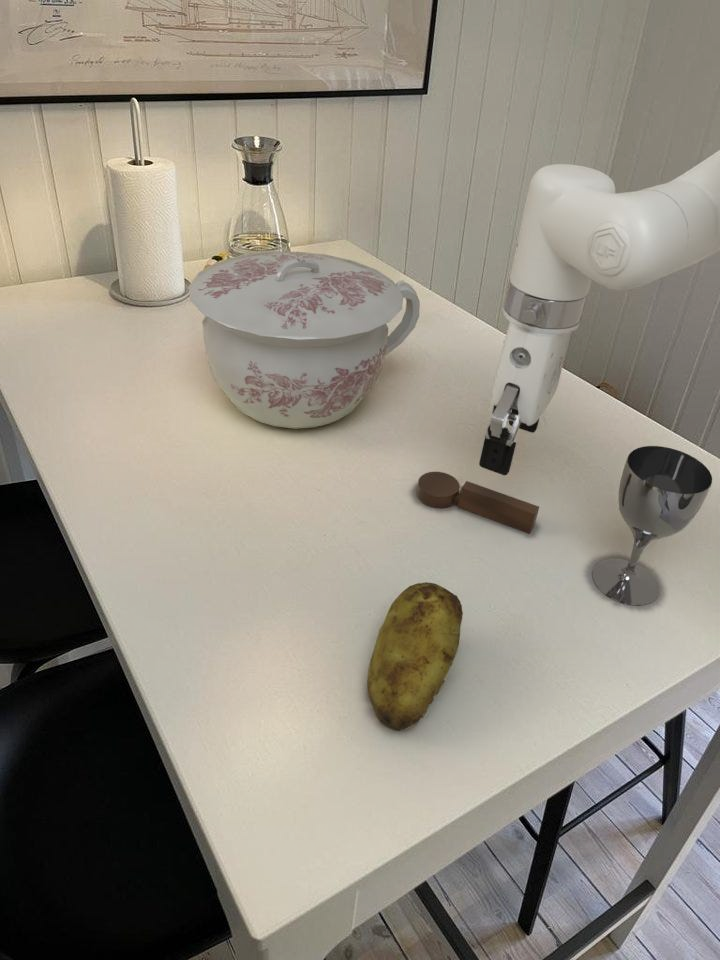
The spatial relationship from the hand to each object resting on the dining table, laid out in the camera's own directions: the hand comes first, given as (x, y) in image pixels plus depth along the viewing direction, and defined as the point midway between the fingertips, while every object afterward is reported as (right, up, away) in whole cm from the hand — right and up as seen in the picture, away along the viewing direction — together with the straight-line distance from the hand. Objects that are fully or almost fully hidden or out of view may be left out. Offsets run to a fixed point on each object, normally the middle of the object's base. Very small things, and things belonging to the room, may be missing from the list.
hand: (508, 448), depth 83 cm
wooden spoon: (-3, -7, +6) cm, 10 cm away
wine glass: (+12, -15, -2) cm, 19 cm away
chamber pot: (-25, +7, +23) cm, 35 cm away
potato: (-12, -22, -14) cm, 29 cm away
